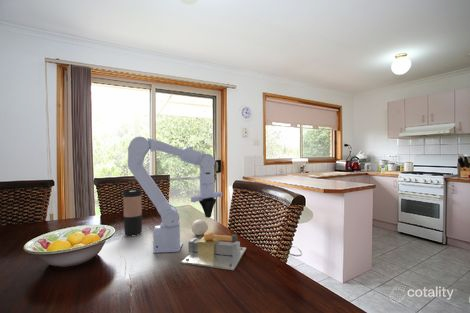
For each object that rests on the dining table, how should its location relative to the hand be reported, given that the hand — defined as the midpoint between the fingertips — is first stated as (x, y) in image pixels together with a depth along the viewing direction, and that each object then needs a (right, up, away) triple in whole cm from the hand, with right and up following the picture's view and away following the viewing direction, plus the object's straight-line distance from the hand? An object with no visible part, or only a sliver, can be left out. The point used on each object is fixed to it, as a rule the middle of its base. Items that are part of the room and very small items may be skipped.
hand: (208, 216), depth 92 cm
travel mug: (-36, -11, +13) cm, 40 cm away
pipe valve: (+3, -10, -11) cm, 15 cm away
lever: (+6, -5, -11) cm, 14 cm away
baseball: (-5, -11, +10) cm, 15 cm away
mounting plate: (+4, -10, -12) cm, 17 cm away
